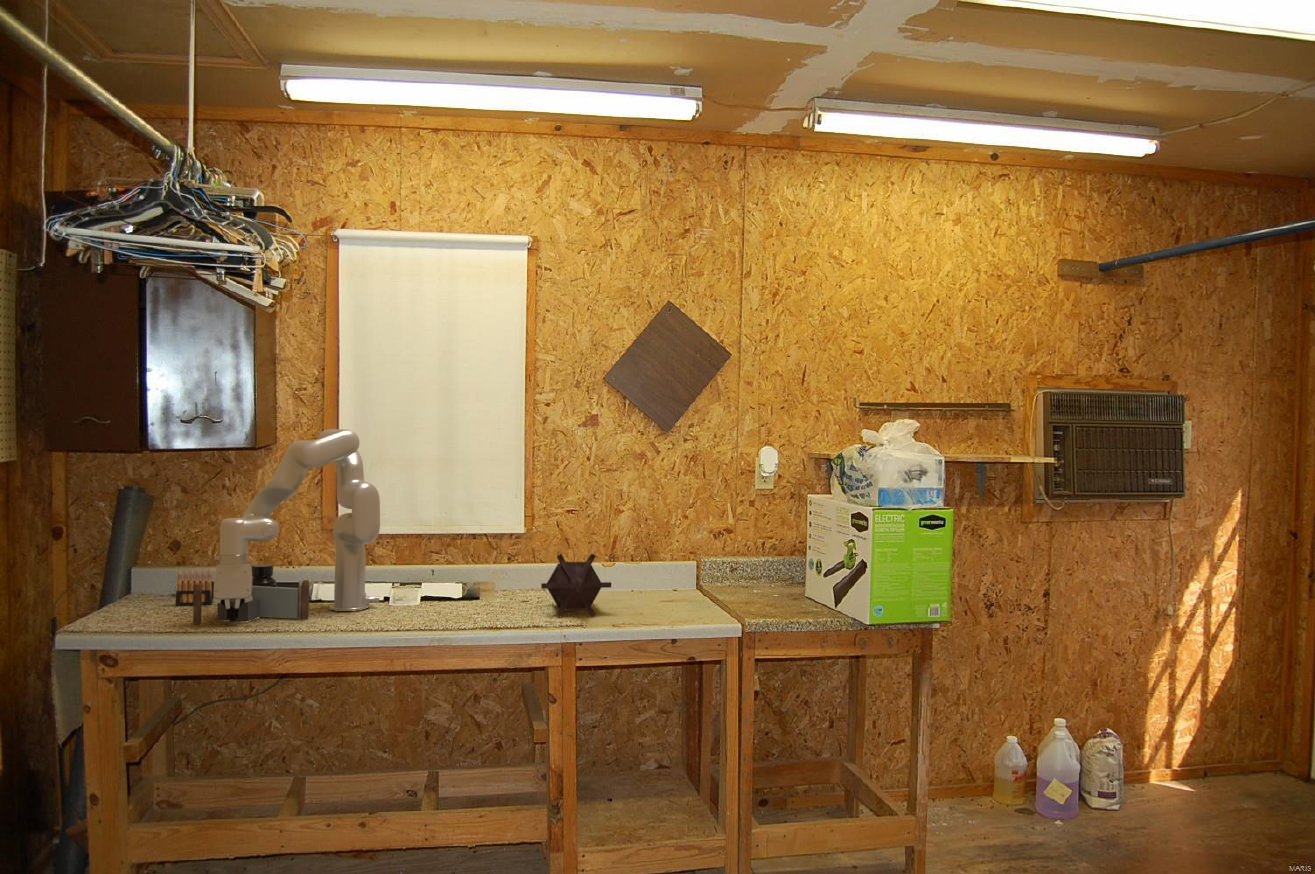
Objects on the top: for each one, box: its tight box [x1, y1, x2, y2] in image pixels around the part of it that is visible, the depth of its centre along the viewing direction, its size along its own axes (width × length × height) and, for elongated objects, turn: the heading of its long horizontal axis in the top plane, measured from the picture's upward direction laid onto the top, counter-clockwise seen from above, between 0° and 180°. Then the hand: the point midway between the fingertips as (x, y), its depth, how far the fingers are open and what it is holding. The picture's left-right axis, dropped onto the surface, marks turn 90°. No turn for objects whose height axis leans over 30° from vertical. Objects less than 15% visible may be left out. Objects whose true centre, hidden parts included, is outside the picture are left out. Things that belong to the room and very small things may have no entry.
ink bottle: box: [251, 563, 277, 587], centre depth 288 cm, size 10×9×12 cm
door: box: [252, 586, 299, 619], centre depth 262 cm, size 26×2×9 cm, turn 83°
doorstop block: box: [216, 598, 261, 622], centre depth 259 cm, size 10×6×6 cm, turn 83°
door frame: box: [192, 579, 310, 627], centre depth 256 cm, size 32×2×12 cm, turn 111°
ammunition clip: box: [174, 568, 213, 607], centre depth 277 cm, size 11×2×12 cm, turn 105°
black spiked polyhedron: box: [540, 553, 612, 618], centre depth 279 cm, size 21×23×30 cm
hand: (232, 621), depth 250 cm, fingers closed
